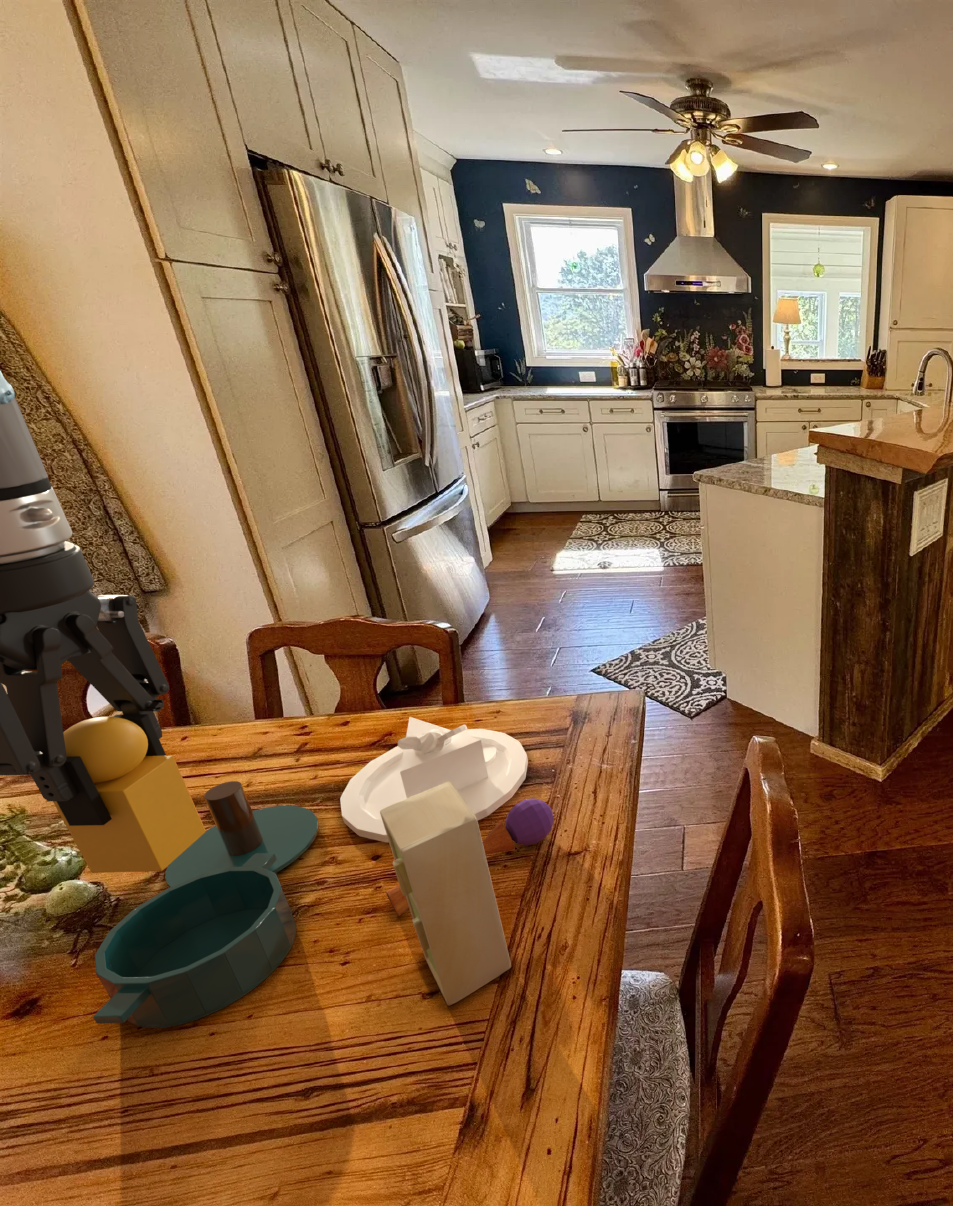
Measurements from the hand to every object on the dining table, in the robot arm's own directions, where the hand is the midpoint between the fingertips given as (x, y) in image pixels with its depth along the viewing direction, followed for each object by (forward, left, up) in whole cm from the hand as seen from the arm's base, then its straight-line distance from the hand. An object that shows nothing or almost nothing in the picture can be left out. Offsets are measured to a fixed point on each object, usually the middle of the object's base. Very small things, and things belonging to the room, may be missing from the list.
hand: (124, 797), depth 57 cm
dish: (+7, +33, -25) cm, 42 cm away
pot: (-3, +3, -25) cm, 25 cm away
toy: (0, 0, -6) cm, 6 cm away
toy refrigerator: (+24, +2, -25) cm, 35 cm away
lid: (-11, +19, -24) cm, 33 cm away
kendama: (+20, +16, -25) cm, 36 cm away
